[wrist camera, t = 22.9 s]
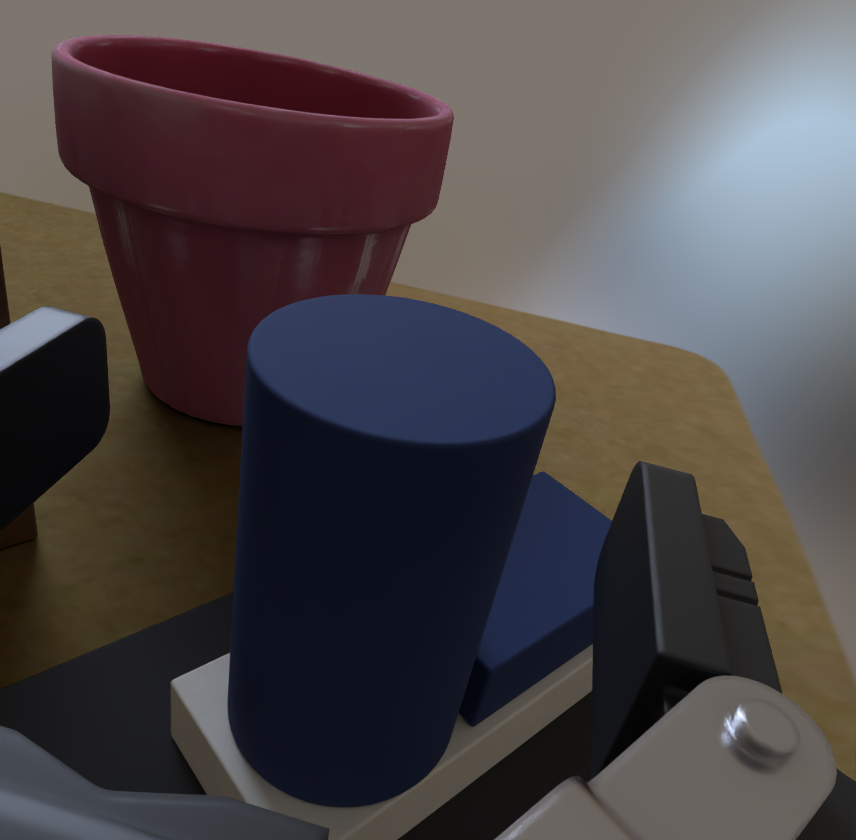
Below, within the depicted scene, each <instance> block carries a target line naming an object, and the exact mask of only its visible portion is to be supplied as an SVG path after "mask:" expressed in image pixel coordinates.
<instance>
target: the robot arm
mask: <svg viewBox="0 0 856 840" xmlns="http://www.w3.org/2000/svg"><path fill="white" fill-rule="evenodd" d="M109 415H110V401H109V383H108V366H107V349H106V335H105V330H104V327H103V325H102V323H101V322H100V321H99V320H98V319H96V318H93V317H89V316H85V315H81V314H77V313H74V312H70V311H66V310H62V309H58V308H54V307H50V306H44V307H40V308H38V309H36V310H35V311H33V312H31V313H29V314H27V315H25V316H24V317H22V318H20V319H18V320H16V321H15V322H13V323H11V324H9V325H7V326H5V327H4V328H2V329H0V532H1V531H2V530H3V529H4V528H5V527H6V526H8V525H9V524H10V523H11V522H12V521H13V520H14V519H15V518H17V517H18V516H19V515H20V514H21V513H22V512H23V511H24V510H26V509H27V508H28V507H29V506H30V505H31V504H32V503H33V502H35V501H36V500H37V499H38V498H39V497H40V496H41V495H42V494H44V493H45V492H46V491H47V490H48V489H49V488H50V487H52V486H53V485H54V484H55V483H56V482H57V481H58V480H59V479H61V478H62V477H63V476H64V475H65V474H66V473H67V472H68V471H70V470H71V469H72V468H73V467H74V466H75V465H76V464H77V463H79V462H80V461H81V460H82V459H83V458H84V457H85V456H86V455H88V454H89V453H90V452H91V451H92V450H93V449H94V448H95V447H96V446H97V445H98V444H99V442H100V441H101V439H102V437H103V435H104V433H105V431H106V428H107V425H108V421H109ZM751 579H752V573H751V569H750V566H749V562H748V558H747V554H746V550H745V547H744V546H743V545H742V544H741V542H740V541H739V540H738V538H737V537H736V536H735V534H734V533H733V532H732V530H731V529H730V528H729V526H728V525H727V524H726V523H725V521H724V520H723V519H719V518H715V517H711V516H708V515H704V514H701V508H700V503H699V498H698V493H697V487H696V482H695V478H694V476H693V475H692V474H688V473H684V472H680V471H676V470H673V469H669V468H665V467H661V466H657V465H653V464H650V463H646V462H642V461H639V462H638V463H637V464H636V465H635V467H634V468H633V470H632V472H631V475H630V477H629V480H628V482H627V485H626V487H625V490H624V492H623V495H622V497H621V500H620V503H619V505H618V508H617V510H616V513H615V515H614V518H613V520H612V523H611V525H610V528H609V530H608V533H607V535H606V538H605V541H604V543H603V546H602V549H601V552H600V556H599V559H598V563H597V568H596V573H595V580H594V604H593V667H592V730H591V780H590V781H589V782H587V783H586V782H585V781H584V780H583V779H582V778H581V777H580V776H573V777H570V778H569V779H567V780H565V781H564V782H562V783H561V784H559V785H558V786H557V787H556V788H554V789H553V790H552V791H551V792H549V793H548V794H547V795H546V796H545V797H544V798H542V799H541V800H540V801H539V802H538V803H537V804H535V805H534V806H533V807H532V808H531V809H530V810H528V811H527V812H526V813H525V814H524V815H523V816H521V817H520V818H519V819H518V820H517V821H516V822H514V823H513V824H512V825H511V826H510V827H509V828H507V829H506V830H505V831H504V832H503V833H502V834H500V835H499V836H498V837H497V838H496V839H495V840H856V781H854V780H852V779H851V778H849V777H848V776H846V775H845V774H843V773H842V772H841V771H839V770H838V769H837V768H836V762H835V758H834V754H833V751H832V749H831V747H830V745H829V742H828V741H827V739H826V737H825V736H824V734H823V733H822V731H821V730H820V728H819V727H818V726H817V725H816V723H815V722H814V721H813V720H812V719H811V718H810V717H809V715H808V714H807V713H806V712H805V711H804V710H803V709H801V708H800V707H799V706H798V705H797V704H795V703H794V702H793V701H792V700H790V699H789V698H787V697H786V696H784V695H783V694H782V690H781V686H780V682H779V678H778V674H777V670H776V667H775V663H774V659H773V655H772V651H771V647H770V643H769V639H768V636H767V632H766V628H765V624H764V620H763V616H762V612H761V608H760V607H759V606H757V604H758V597H757V593H756V589H755V585H754V582H751ZM329 830H330V829H329V828H325V827H322V826H319V825H316V824H313V823H309V822H306V821H303V820H300V819H297V818H294V817H290V816H287V815H284V814H281V813H278V812H274V811H271V810H268V809H265V808H262V807H258V806H255V805H252V804H249V803H246V802H242V801H239V800H236V799H233V798H230V797H226V796H212V795H190V794H169V793H147V792H125V791H111V790H106V789H103V788H100V787H98V786H96V785H94V784H93V783H91V782H90V781H88V780H87V779H85V778H84V777H83V776H81V775H80V774H78V773H77V772H75V771H74V770H72V769H71V768H70V767H68V766H67V765H65V764H64V763H62V762H61V761H60V760H58V759H57V758H55V757H54V756H52V755H51V754H49V753H48V752H47V751H45V750H44V749H42V748H41V747H39V746H38V745H37V744H35V743H34V742H32V741H31V740H29V739H28V738H27V737H25V736H24V735H22V734H21V733H19V732H18V731H16V730H13V729H9V728H6V727H3V726H0V840H328V836H329Z"/></svg>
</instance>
